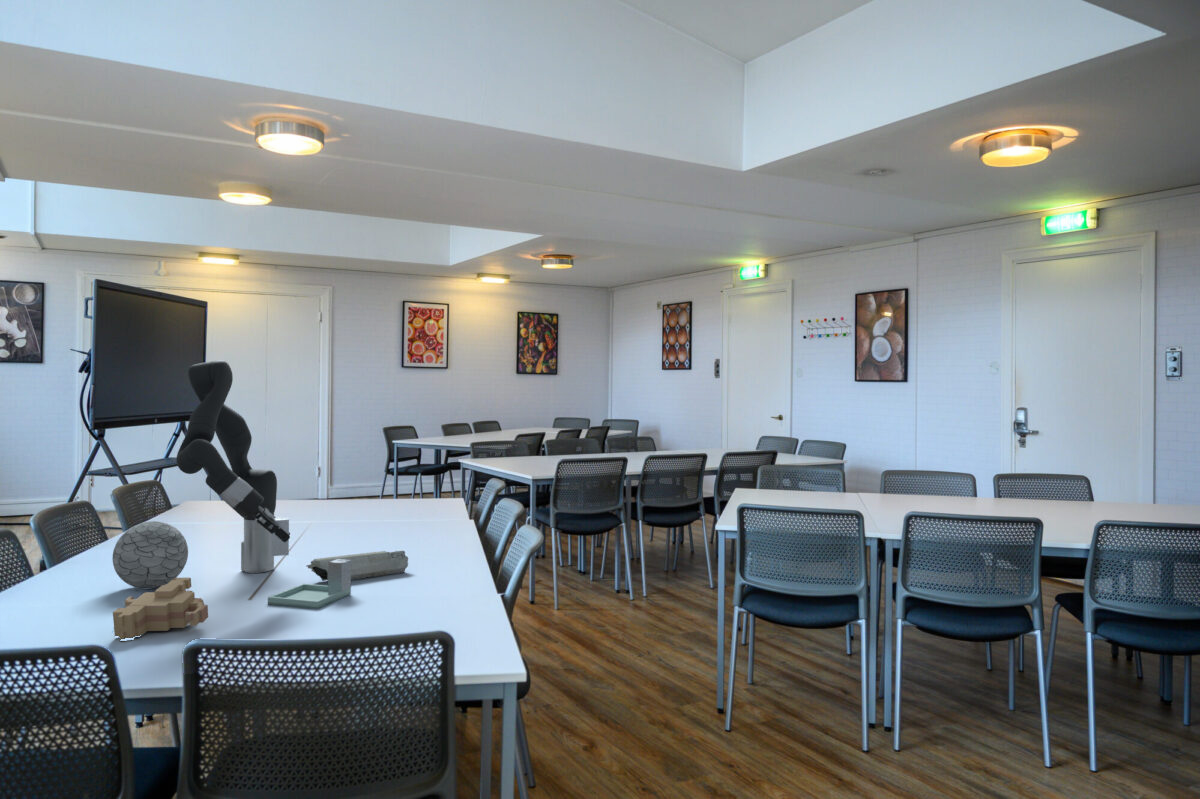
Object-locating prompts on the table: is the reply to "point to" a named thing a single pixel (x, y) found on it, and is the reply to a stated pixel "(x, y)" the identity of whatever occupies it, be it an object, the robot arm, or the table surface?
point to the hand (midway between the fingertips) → (287, 538)
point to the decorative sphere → (150, 554)
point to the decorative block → (365, 564)
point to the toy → (160, 610)
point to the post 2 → (339, 575)
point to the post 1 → (276, 543)
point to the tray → (307, 596)
